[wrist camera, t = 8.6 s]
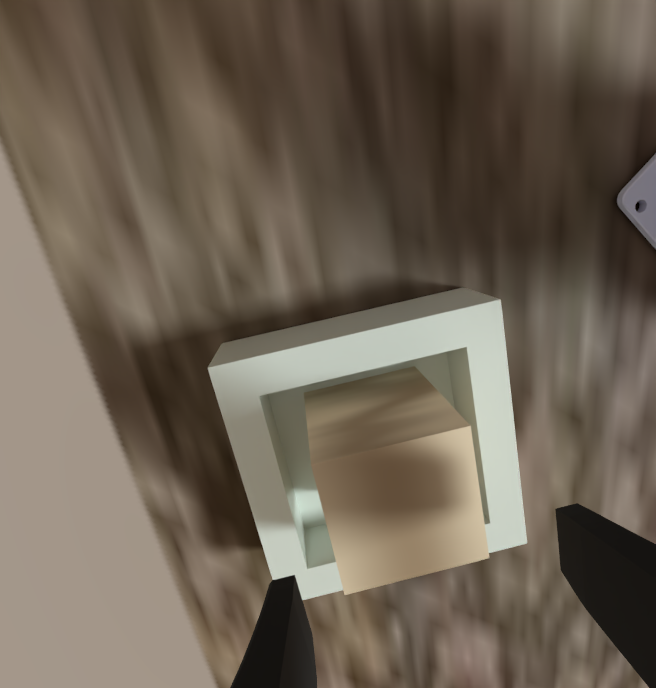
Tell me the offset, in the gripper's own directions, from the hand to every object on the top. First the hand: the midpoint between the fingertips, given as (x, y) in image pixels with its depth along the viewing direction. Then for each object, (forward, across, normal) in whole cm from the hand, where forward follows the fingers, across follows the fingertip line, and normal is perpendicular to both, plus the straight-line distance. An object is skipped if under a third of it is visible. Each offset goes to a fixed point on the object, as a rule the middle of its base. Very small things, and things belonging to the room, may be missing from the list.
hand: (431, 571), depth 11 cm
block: (+8, 0, 0) cm, 8 cm away
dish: (+9, 0, 0) cm, 9 cm away
